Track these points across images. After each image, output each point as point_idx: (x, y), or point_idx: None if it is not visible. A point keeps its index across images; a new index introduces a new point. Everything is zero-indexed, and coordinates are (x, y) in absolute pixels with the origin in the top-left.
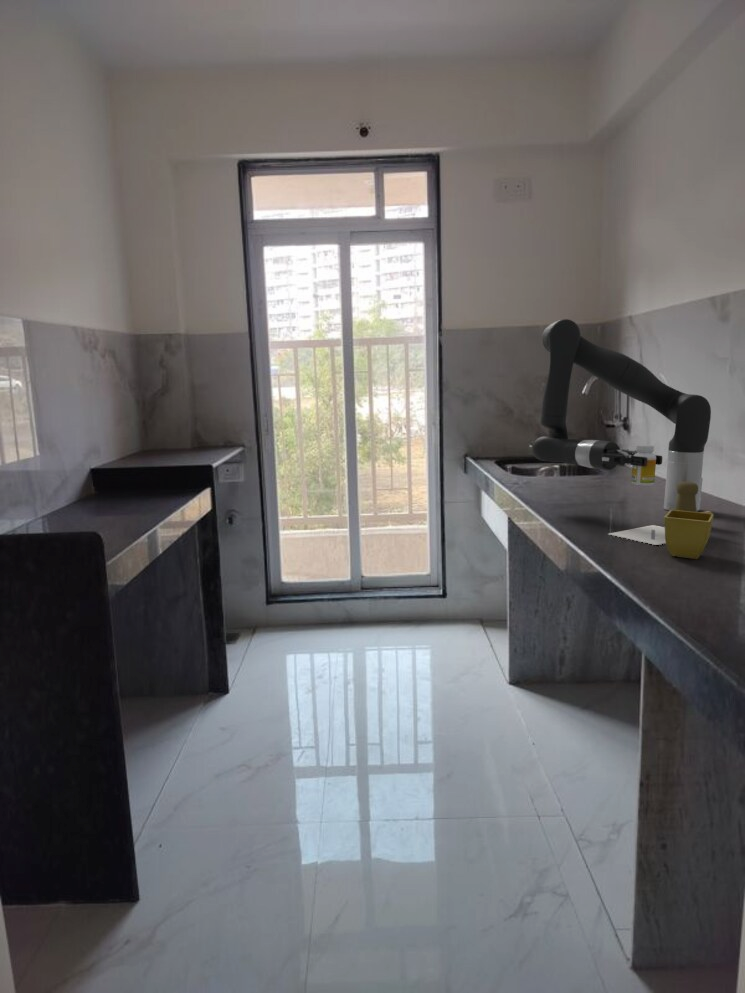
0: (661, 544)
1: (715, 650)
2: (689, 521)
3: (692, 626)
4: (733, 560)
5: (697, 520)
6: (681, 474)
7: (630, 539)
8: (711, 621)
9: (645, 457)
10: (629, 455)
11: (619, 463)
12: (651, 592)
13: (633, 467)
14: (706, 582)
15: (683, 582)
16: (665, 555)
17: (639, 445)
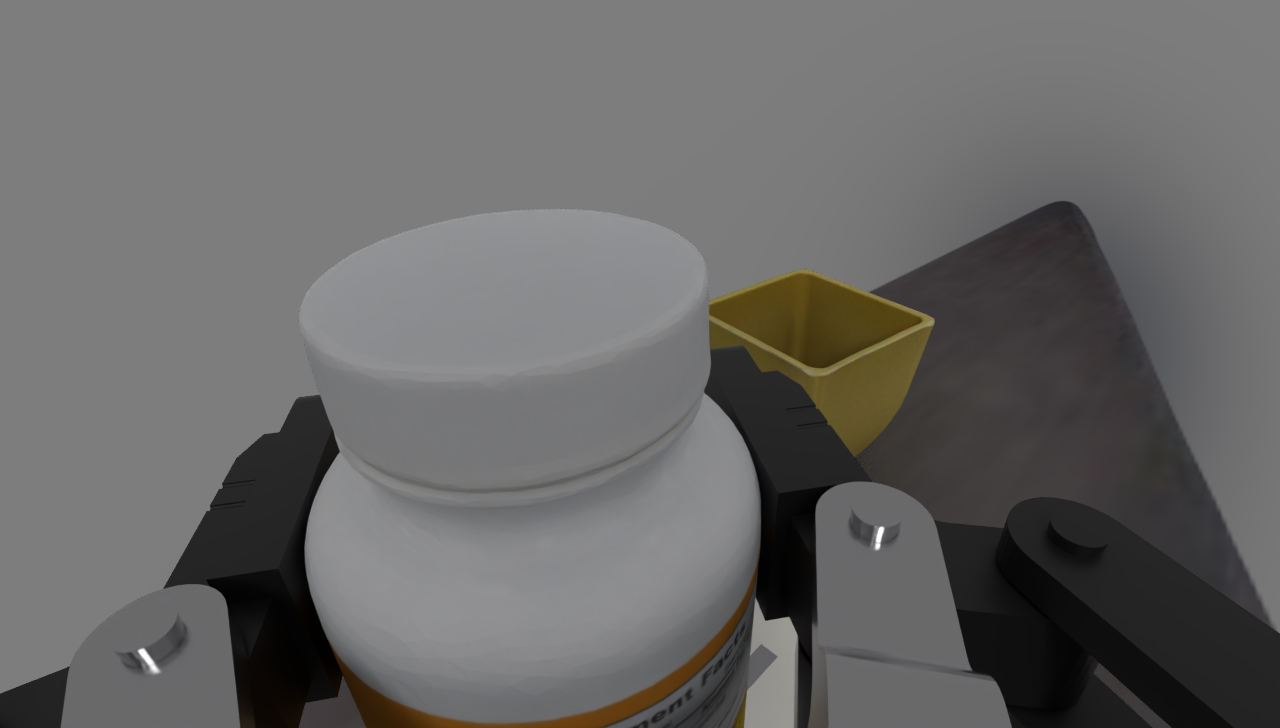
0: None
1: (1063, 213)
2: (855, 294)
3: (1062, 241)
4: None
5: (834, 279)
6: None
7: None
8: (1018, 244)
9: (717, 349)
10: (891, 513)
11: (1094, 690)
12: (1083, 311)
13: (747, 670)
14: None
15: (966, 329)
16: (871, 471)
17: (658, 281)
